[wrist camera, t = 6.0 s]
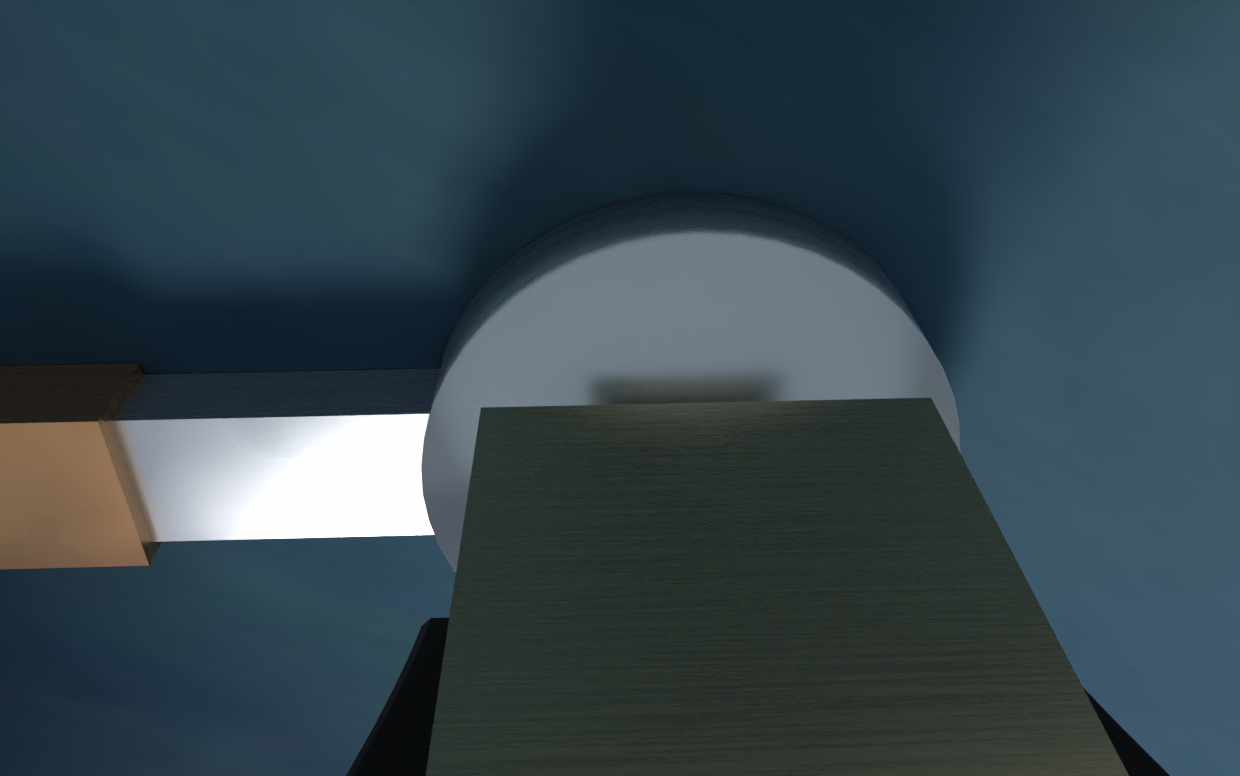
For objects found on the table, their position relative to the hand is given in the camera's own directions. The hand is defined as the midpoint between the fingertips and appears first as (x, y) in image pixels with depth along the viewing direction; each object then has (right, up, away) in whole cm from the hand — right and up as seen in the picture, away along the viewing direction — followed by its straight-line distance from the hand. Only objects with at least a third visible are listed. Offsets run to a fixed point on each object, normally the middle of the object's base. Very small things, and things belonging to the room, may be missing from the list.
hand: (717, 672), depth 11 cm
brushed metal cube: (0, +1, +2) cm, 2 cm away
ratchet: (-5, +3, +4) cm, 7 cm away
